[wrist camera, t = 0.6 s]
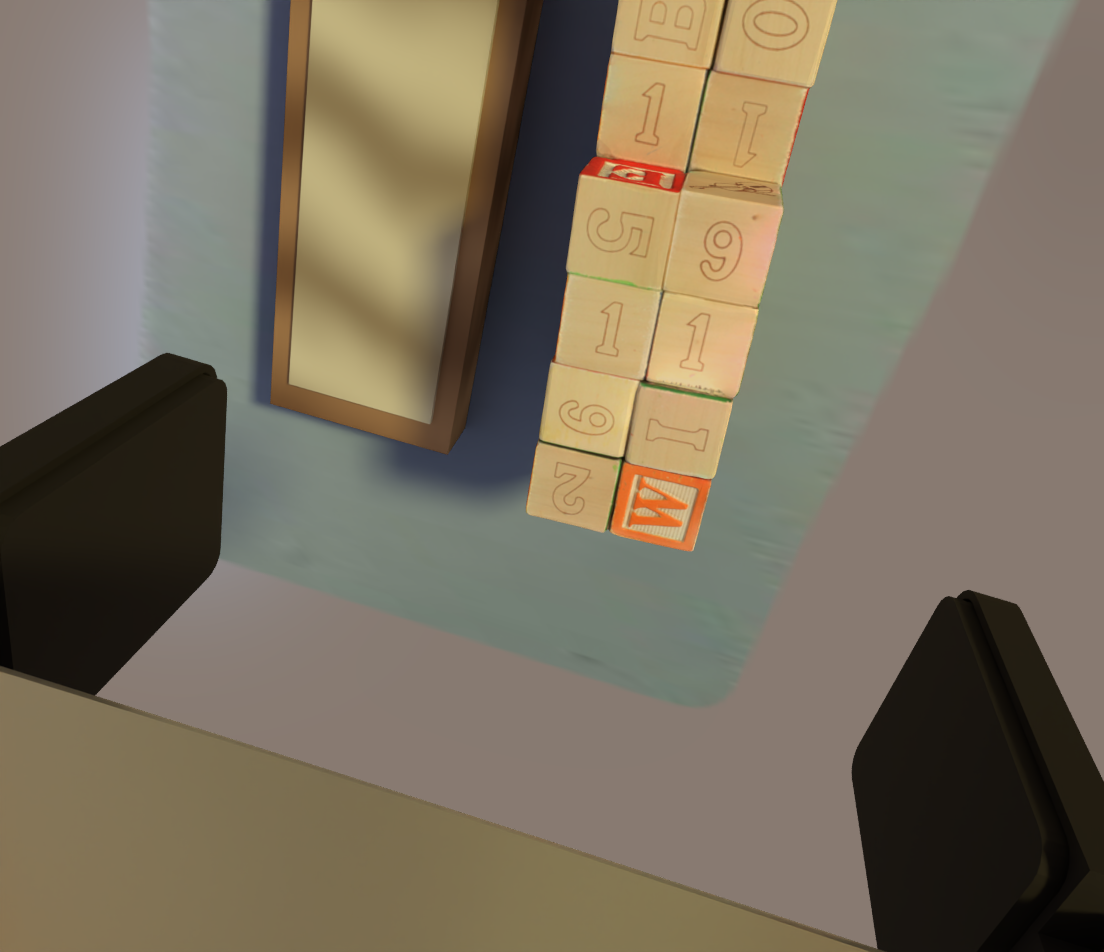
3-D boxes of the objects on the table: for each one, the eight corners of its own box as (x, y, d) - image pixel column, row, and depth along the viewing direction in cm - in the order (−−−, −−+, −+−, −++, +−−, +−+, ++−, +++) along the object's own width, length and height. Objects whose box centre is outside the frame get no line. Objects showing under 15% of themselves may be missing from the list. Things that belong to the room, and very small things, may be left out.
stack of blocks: (675, -150, 31) (639, -228, 21) (849, -123, 31) (905, -187, 20) (577, 387, 42) (521, 519, 31) (705, 415, 41) (691, 559, 31)
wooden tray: (343, -298, 31) (303, -329, 28) (587, -241, 30) (571, -266, 27) (297, 380, 44) (267, 406, 42) (465, 428, 44) (445, 457, 41)
